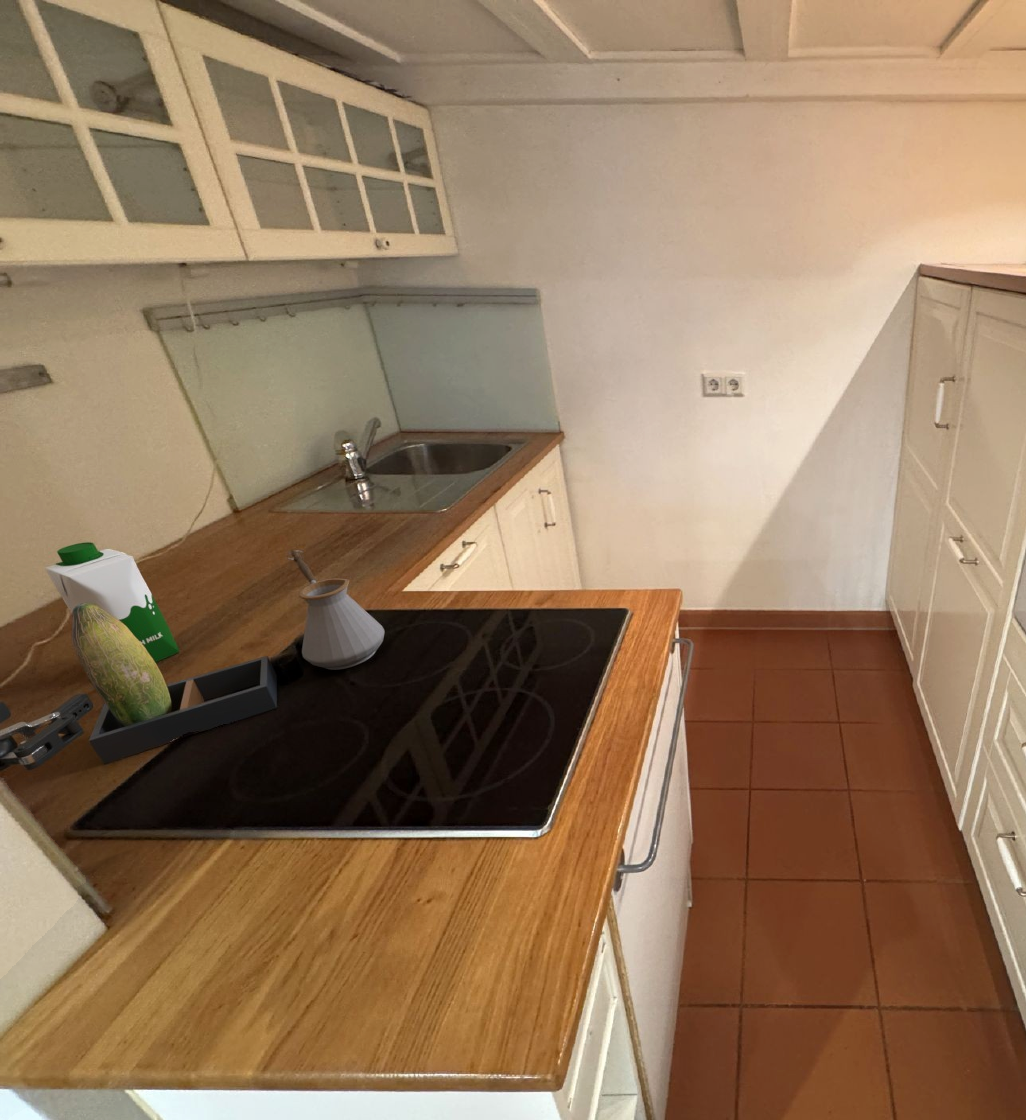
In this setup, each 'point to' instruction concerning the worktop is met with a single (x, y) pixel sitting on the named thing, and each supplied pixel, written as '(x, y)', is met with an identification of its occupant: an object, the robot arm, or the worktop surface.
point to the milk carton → (113, 593)
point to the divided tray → (191, 709)
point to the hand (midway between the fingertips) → (45, 703)
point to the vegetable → (118, 666)
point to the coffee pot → (335, 624)
